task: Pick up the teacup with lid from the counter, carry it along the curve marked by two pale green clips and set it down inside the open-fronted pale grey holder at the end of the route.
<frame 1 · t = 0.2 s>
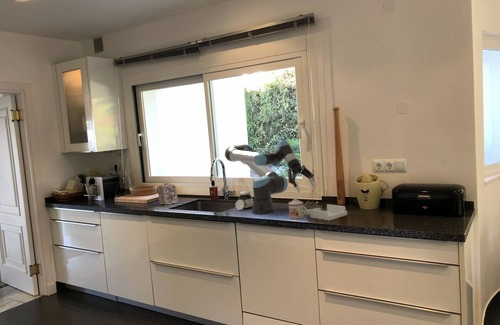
hand: (307, 189, 244), 15 cm above the worktop, tool tilted 35°, fingers open, 13 cm apart
teacup with lid: (298, 218, 234), on the worktop
clip a: (307, 214, 240), on the worktop
spread jar: (244, 208, 275), on the worktop
end holder: (327, 216, 233), on the worktop
decorative jar: (168, 203, 320), on the worktop
clip b: (317, 213, 242), on the worktop
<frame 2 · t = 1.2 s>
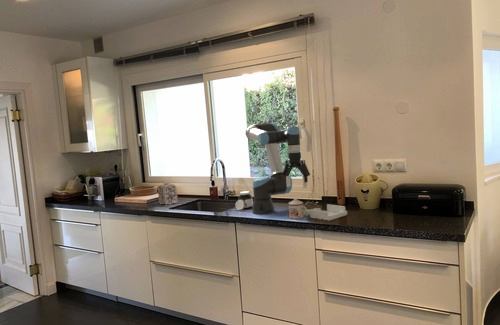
hand: (296, 187, 233), 19 cm above the worktop, tool pointing down, fingers open, 13 cm apart
nothing on the worktop moved.
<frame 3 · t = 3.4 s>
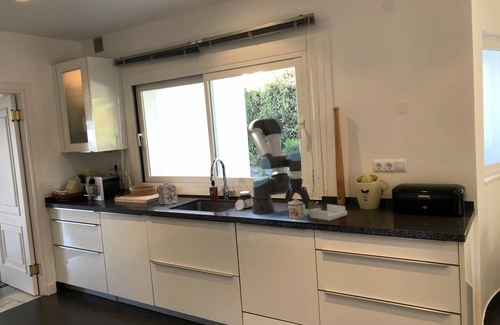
hand: (298, 213, 234), 3 cm above the worktop, tool pointing down, fingers closed on teacup with lid, 12 cm apart
teacup with lid: (298, 217, 234), on the worktop, touching gripper
everything else where it was.
when the fingers open (5 cm above the worktop, at t = 9.9 s): teacup with lid drops 1 cm, resting on end holder.
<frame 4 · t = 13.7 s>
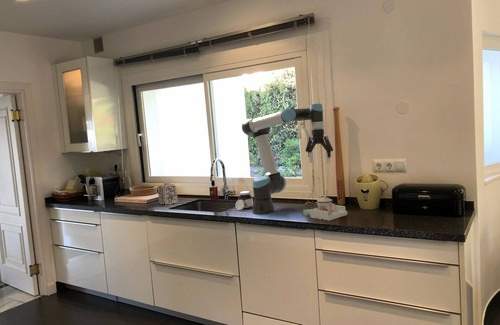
hand: (319, 162, 240), 32 cm above the worktop, tool pointing down, fingers open, 13 cm apart
teacup with lid: (327, 215, 233), resting on end holder
everything else where it was.
at the end: teacup with lid inside the target area on the end holder (0.2 cm from its centre), point 0.4 cm above the end holder's base; teacup with lid tilted 0°; the gripper is holding nothing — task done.
